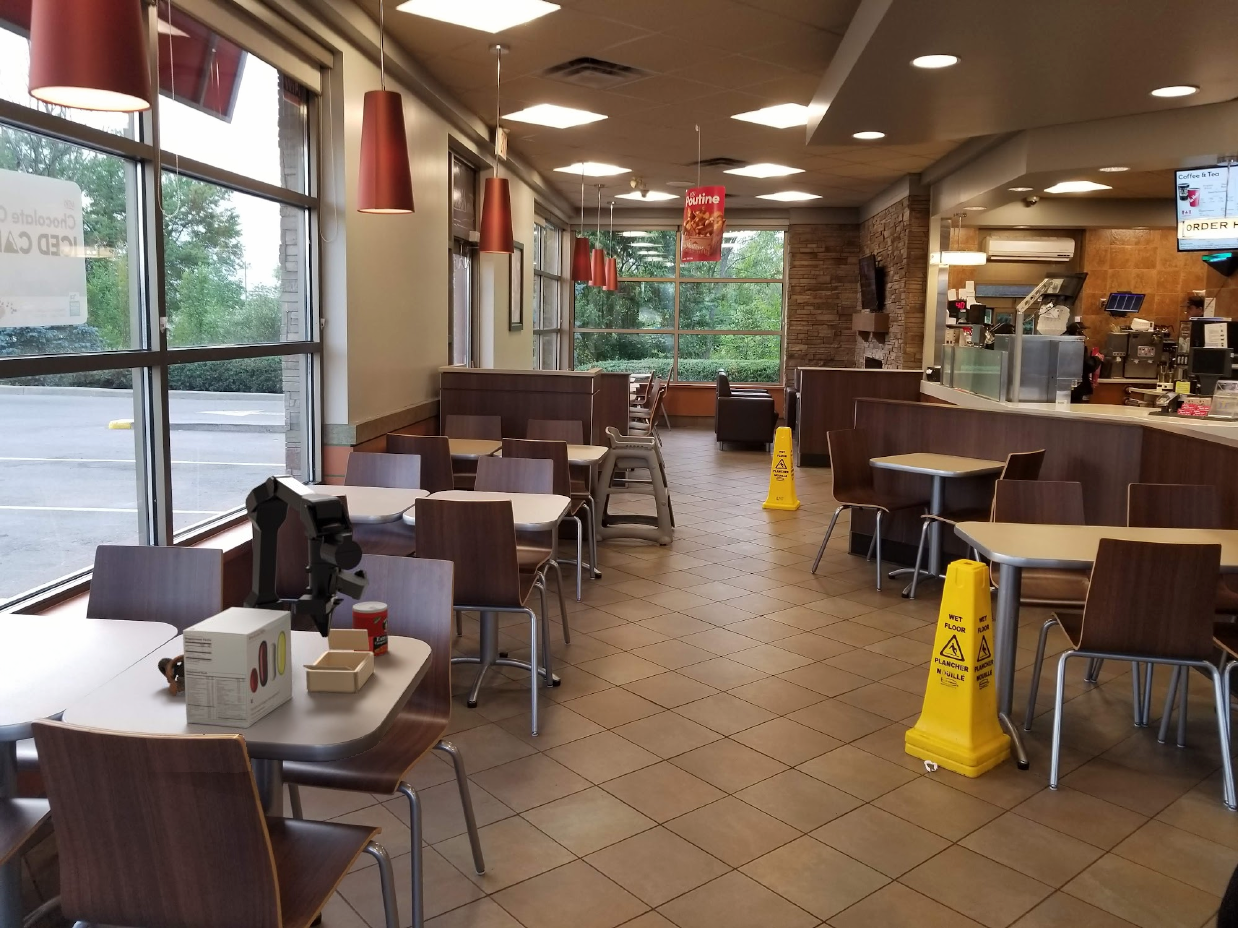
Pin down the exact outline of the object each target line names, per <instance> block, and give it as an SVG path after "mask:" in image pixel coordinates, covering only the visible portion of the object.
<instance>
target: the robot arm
mask: <svg viewBox="0 0 1238 928" xmlns="http://www.w3.org/2000/svg"><path fill="white" fill-rule="evenodd" d="M249 492H250V493H248V494H247V496H246V499H245V509H246V512H247V513H246V514H247V515H246V516H247V518H248V520H249V521H250V523H251V524H252V526H253V527H254V535H253V537H254V538H253V539H254V542H253V564H252V585H251V586H252V587H251V591H250V592H249V594H248V595H247V597H246V598H245V599H244V601H243V607H242V608H253V609H266V610H279V611H285V610H284V606H285V604H284V602H283V601H282V600H281V599H280V597H279V596H278V594H277V592H276V586H277V568H278V567H277V564H278V563H277V562H278V548H279V547H278V544H279V530H280V529H281V528H282V526H283V524H285V522H286V520H287V518H288V510H289V508H290V506H291V507H292V508H294V509H295V510H296V511H298V512H299V513H300V514H299V519H300V521H301V522H302V523H303V525H304V526H305V527H306V529H305V530H304V536H307V538H308V539H307V540H308V543H307V544H308V545H307V546H308V565H307V567H305V574H308V582H309V583H308V585H309V586H307V587H306V588H305V594H303V595H302V596H301V597H300V598H298V599H297V600H296V601H295V602H294V603H293V614H295V615H309V617H311V620H312V621H313V623H314V625H315V626H316V628H317V631H318V632H319V634H320V636H321V637H322V638H324V639H325V638H327V639H328V636H329V632H330V629H332V628H331V627H332V624H333V620H334V615H335V613H336V609H337V608H338V607H339V606H340V605H341V604H342V603H343V602H345V599H344V598H341V597H340V598H338V595H337V594H338V593H339V594H343V595H345V596H348V597H351V599H353V600H357V601H360V600H361V599H362V598H363V597H364V596H365V595H366V591H367V588H368V587H369V585H370V578H368V574H367V570H365V569H362V568H359V569H358V570H356V571H355V572H354V573H353V572H351V570H353V569H355V568H356V567H358V565H359V564H360V563H361V562H362V561H361V560H362V558H363V550H362V548H361V546H360V544H359V543H358V542H356V541H355V540H353V534H351V533H353V529H352V521H351V518H349V517H350V516H349V515H348V513H347V511H346V509H345V506H344V503H343V502H342V501H341V499H340V498H339V497H337V496H335V495H331V494H324V493H317V492H316V491H314V490H312V489H311V488H309V487H308V486H306V485H305V484H303V483H301V482H300V481H299V480H297V479H296V478H295V476H294V475H292V474H289V473H288V474H278V475H277V474H274V475H272V476H269V477H268V478H266V480H265V481H264V482H263V483H261V484H259V485H258V486H256V487H254V488H253V489H251V491H249ZM348 571H350V572H348Z"/></svg>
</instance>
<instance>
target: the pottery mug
mask: <svg viewBox="0 0 1238 928" xmlns="http://www.w3.org/2000/svg"><path fill="white" fill-rule="evenodd" d="M157 669H158V670H159V672H160V673H161V675H163V676H164V677H165V678H166V680H167V681H166V682H167V683H168V684H169V687H168V690H167V691H168V693H169V695H171V696H173V697H177V694H178V693H182V692H185V670H184V653H183V654H179V655H177V656H176V657H174V658H169V657H162V658H161V659H160V660H159V661H158V663H157Z"/></svg>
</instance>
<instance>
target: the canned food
mask: <svg viewBox="0 0 1238 928" xmlns="http://www.w3.org/2000/svg"><path fill="white" fill-rule="evenodd" d="M388 610H389V609H388V604H387V603H385V602H381V601H363V602H358V603H356V604H354V605H352V629H354V630H367V633H368V643H369V650H353V651H356V652H373V653H374V657H379V655H380V656H383V655H385V654H386V653H388V649H389V624H388V623H389V616H388V615H389V612H388Z"/></svg>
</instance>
